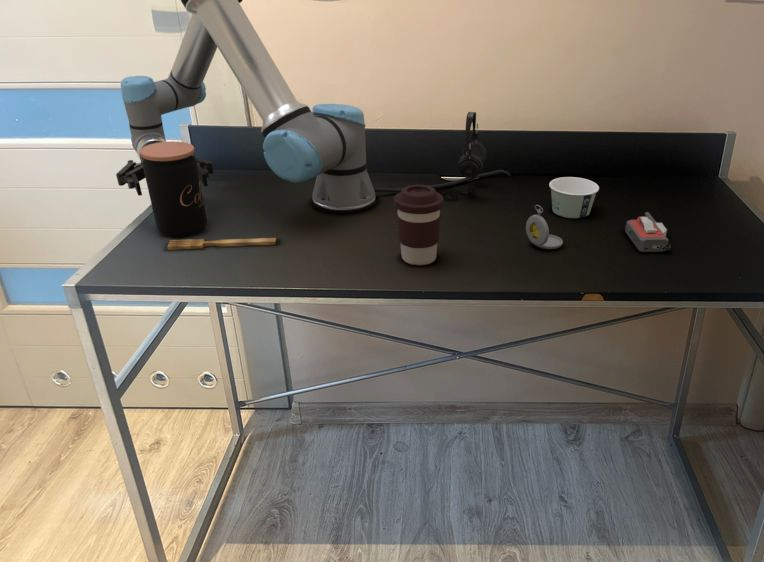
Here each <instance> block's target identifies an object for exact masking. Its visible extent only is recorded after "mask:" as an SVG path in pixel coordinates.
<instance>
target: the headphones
mask: <svg viewBox="0 0 764 562" xmlns="http://www.w3.org/2000/svg"><path fill="white" fill-rule="evenodd" d="M478 128H479V124H478V123H477V112H476V111H468V112H467V114H466V119H465V133H464V134H465V135H464V137H465V139H464V148H463V152H462V156H461V157H460V158H459V160H458V161H457V167H458V170H459V172H460V175H461V176H462V177H463V178H474V177H476V176H477V175H478V174H481V172H482V171H483V169H484V163H485V162H486V161H487V158H488V154H487V153H488V152H487V148H486V147H485V146H484V144H482V143H481V142H479V141H478V140H479V132H476V130H478ZM471 129H472V132H471ZM472 140H473V141H472ZM472 181H473V182H472V183H474V182H475V179H474V180H472ZM473 188H474V184H472V185H471V188H470V189H469V191H462V192H460V191H456V190H454V192H456V193H459V194H462V195H467V196H468V195H469V196H470V197H472V196H473V194H472V193H471V192H472V191H473ZM442 190H443V188H440V190H439V192H440V193H442V194H441V195H442V197H443V199H444V200H447V201H450V199H448V198H446V197H444V194H445V193H447V194H450V195H452V196H454V197H456V195H455V194H453V193H451V192H449V191H448V190H446V191H443V192H442ZM452 201H455V198H454V199H452Z"/></svg>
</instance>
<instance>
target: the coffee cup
mask: <svg viewBox="0 0 764 562" xmlns="http://www.w3.org/2000/svg"><path fill="white" fill-rule="evenodd" d="M401 189H402V188H401ZM442 195H443V194H441V193H439V192H437V191H436V189H434V188H432V187H430V185H425V184H411V185H407V186H405V187H403V189H402V191H401V192H397V193H396V194H395V195H394V197H393V206H394V208H395V209H396V210H397V213H396V220H397V222H396V223H397V232H398V241H399V243H400V253H401V259H402V261H403V262H405V263H407V264H409V265H412V266H424V265H425V266H426V265H430V264H431V263H434V262H435V260H436V259H437V251H438V243H439V241H440V228H441V218H442V217H441V210H442V209H443V207H444V198H443V197H444V196H443V197H442Z"/></svg>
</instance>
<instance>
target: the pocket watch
mask: <svg viewBox="0 0 764 562" xmlns="http://www.w3.org/2000/svg"><path fill="white" fill-rule="evenodd" d="M537 207H539V208H537ZM534 209H535V210H536V212H537V214H532V215H530V216H529V217H528V219H527V220H526V224H525V231H526V235H527V238H528V239H529V241H530V242H531V244H533V245H534V246H536V247H538V248H540V249H544V250H555V249H559V248H561V247H562V246H563V243H564V241H563V238H561V237H560V236H558V235H554V234H550V229H549V226H548V223H547V221H546V220H545V218H544V217H543V216H541V214H542V213H544V208H543V207H542V206H541V205H539V204H535V205H534Z"/></svg>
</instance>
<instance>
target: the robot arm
mask: <svg viewBox="0 0 764 562" xmlns="http://www.w3.org/2000/svg"><path fill="white" fill-rule="evenodd" d="M243 1H244V0H180V2H181V4H182V5H183V7H184V8H185V11H186V12H187V13H189V14H191V16H190V19H189V22H188V24H187V27H186V29H185V32H184V35H183V37H182V40H181V43H180V46H179V49H178V51H177V53H176V57H175V59H174V62H173V64H172V67H171V70H170V72H169V74H168V77H167V78H165V79H160V80H155V81H154V79H153V78H152V77H151V76H148V75H134V76H127V77H124V78H122V79H121V81H120V91H121V99H122V101H123V104H124V108H125V109H124V110H125V111H126V116H127V119H128V125H129V126H128V127H129V131H130V135H131V136H130V140H131V145H132V148H133V149H134V151H135V153H136V155H137V157H138V158H139V160H140V162H136V161H134V160H132V159H129V160H127V163H126V164H125V165H124V166H123V167H122V168H121V169H120V170H118V172H117V173H116V174H115V176H116V180H117V184H118V186H120V187H122V186H125V185H127V187H128V189H129V190H133V189H135V191H136V194H137V195H138V196H139V197H140V196H143V192H142V188H141V184H140V182H141V181H142V180H145V179H146V178H145V173H144V169H143V160H144V158H143V157H142V156H141V154H140V150H141V149H142V148H143V147H145V146H147V145H150V144H154V143H159V142H167V139H166V135H165V134H166V133H165V129H164V125H163V118H162V116H163V115H165V114H169V113H172V112H176V111H180V110H184V109H187V108H192V107H195V106H196V105H198V104H201V103H203V102H204V101H205V99H206V97H207V92H206V90H207V87H206V84H205V82H204V80H205V78H206V75H207V73H208V70H209V69H210V66H211V63H212V61H213V59H214V57H215V54H216V52H217V49H218V51H219V52H220V53H221V55H222V57H223V58H224V60H225V61H226V64H227V65H228V67H229V68H230V70H231V72H232V73H233V75H234V77H235V78H236V80H237V81H238V83H239V85H240V86H241V88H242V89H243V91H244V93H245V94H246V96H247V98H248V100H249V101H250V103H251V104H252V106H253V108H254V109H255V111H256V113H257V114H258V116H259V117H260V119H261V121H262V126H261V130H260V132H261V134H262V136H263V138H264V140H263V143H262V149H263V150H264V151H263V157H264V161H265V162H266V164H267V166H268V167H269V169H270V170H271V171H272V172H273V173H274V174H275V175H276V176H278V177H279V178H280V179H282V180H284V181H287V182H290V183H296V184H298V183H303V182H306V181H310V180H312V179H314V178H315V183H314V186H313V189H312V195H311V197H312V205H313V206H314V207H315V208H316V209H318V210H320V211H322V212H327V213H333V214H352V213H358V212H363V211H366V210H368V209H371V208H372V207H373V206H374V205H375V204H376V199H377V198H376V193H400V192H401V191H402V189H403V188H404V187H403V188H402V187H401V188H390V187H374V186H373V183H372V180H371V178H370V176H369V173H368V169H367V146H366V145H367V144H366V122H365V114H364V112H363V110H362V109H361V108H359V107H357V106H354V105H349V104H342V103H318V104H315V105H313V107H312V110H311V108H310V107H309V105H308V104H306V103H301V102H299V101H298V100H297V98H296V96H295V95H294V93H293V92H292V90H291V89H290V87H289V85H288V83H287V82H286V80H285V78H284V77H283V75H282V73H281V71H280V70H279V68H278V66H277V65H276V63H275V61H274V59H273V57H272V56H271V55H270V53H269V51H268V49H267V48H266V45H264V43H263V40H262V39H261V37H260V36H259V34H258V32H257V31H256V29H255V27H254V26H253V24H252V22H251V20H250V19H249V17H248V15H247V14H246V12H245V10H244V9H243V7H242V5H241V3H242V2H243ZM194 157H195V158H196V160H197V166H198V171H199V177H200V182H201V185H203V187H208V186H209V185H208V184H209V183H208V179H209V178H210V175H213V174H214V173H215V172H214V166H213V162H212V161H209V160H206V159H203V158H200V157H197V156H194ZM504 170H505V169H498V170H497V169H496V170H492V171H489V172H482V173H479V174H478V175H477V176H476V177H474V178H466V177H463V178H460V179H457V180H453V181H449V182H445V183H438V184H432V185H429V186H430V187H432V188H434V189H435V190H436V189H443V188H447V187H451V186H456V185H459V184H462V183H467V182H471V181H473V180H474V181H475V180H477V179H481V178H485V177H491V176H495V175H500V174H503V175H505V176H507V177H511V176H512V175H511V173H509V172H508V171H507V170H505V171H504Z"/></svg>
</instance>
